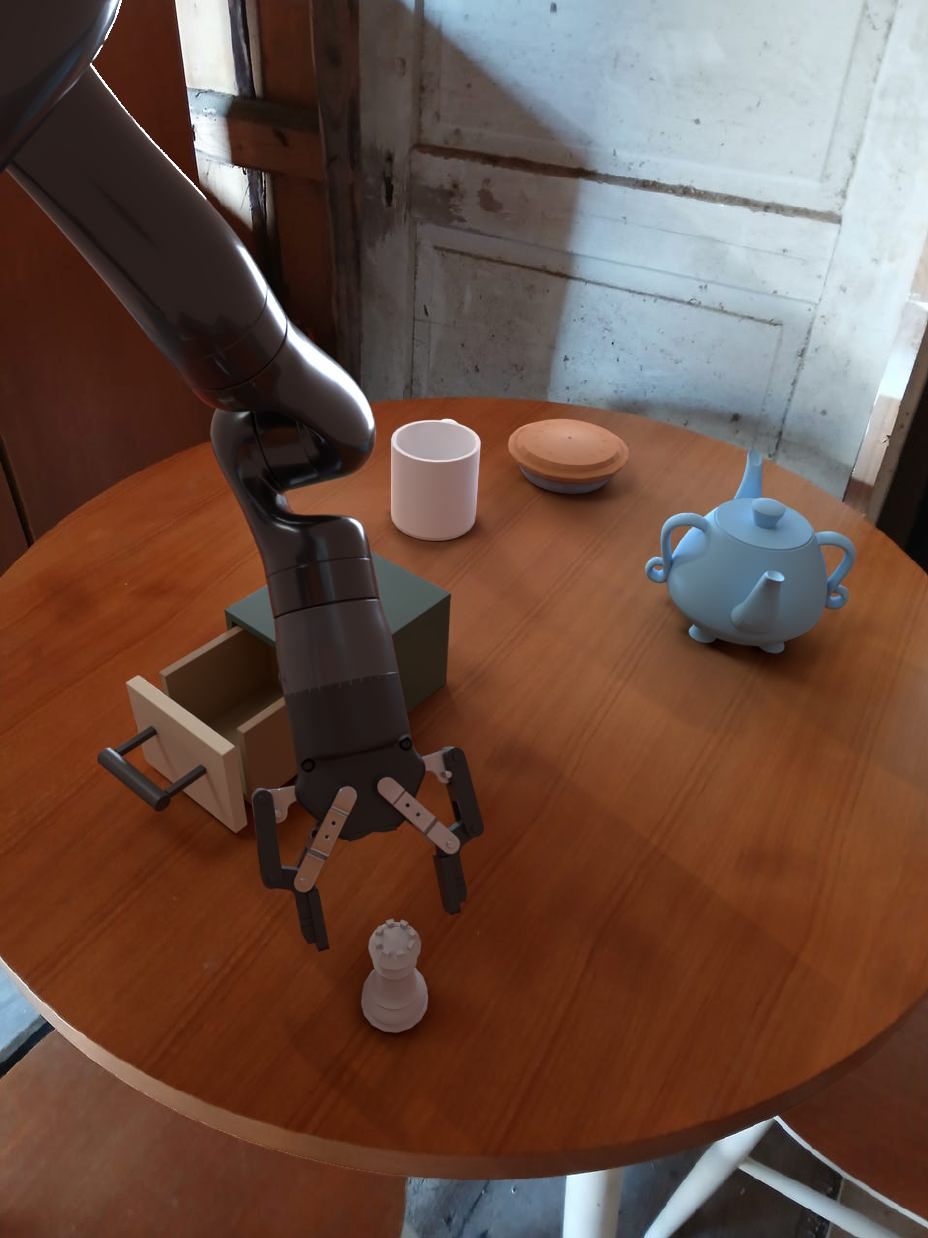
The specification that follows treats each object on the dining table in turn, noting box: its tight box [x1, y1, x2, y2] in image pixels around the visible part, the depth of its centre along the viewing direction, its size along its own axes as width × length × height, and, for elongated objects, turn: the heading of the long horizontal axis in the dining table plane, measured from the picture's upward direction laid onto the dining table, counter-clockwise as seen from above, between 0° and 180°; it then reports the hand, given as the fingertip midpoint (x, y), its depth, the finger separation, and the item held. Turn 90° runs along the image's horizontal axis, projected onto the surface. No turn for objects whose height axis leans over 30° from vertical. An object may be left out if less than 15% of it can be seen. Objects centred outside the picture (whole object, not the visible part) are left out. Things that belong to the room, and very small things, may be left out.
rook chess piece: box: [360, 918, 429, 1033], centre depth 58 cm, size 4×4×8 cm
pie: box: [507, 418, 630, 495], centre depth 116 cm, size 15×16×5 cm
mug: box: [390, 418, 481, 542], centre depth 105 cm, size 13×10×10 cm
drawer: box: [96, 625, 297, 834], centre depth 72 cm, size 18×11×9 cm, turn 141°
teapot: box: [644, 448, 857, 654], centre depth 91 cm, size 16×20×14 cm
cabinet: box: [223, 550, 452, 714], centre depth 80 cm, size 15×13×11 cm
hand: (389, 929), depth 57 cm, fingers open, 8 cm apart
